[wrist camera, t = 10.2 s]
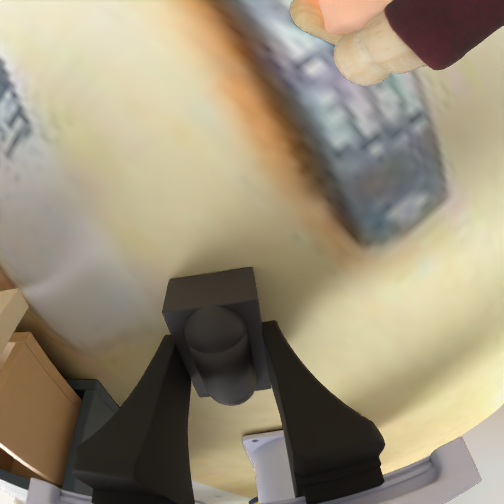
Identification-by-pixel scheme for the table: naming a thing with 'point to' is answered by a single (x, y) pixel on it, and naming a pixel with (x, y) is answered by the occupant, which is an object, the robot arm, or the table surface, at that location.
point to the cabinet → (88, 422)
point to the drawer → (32, 401)
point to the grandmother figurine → (397, 32)
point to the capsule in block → (219, 333)
